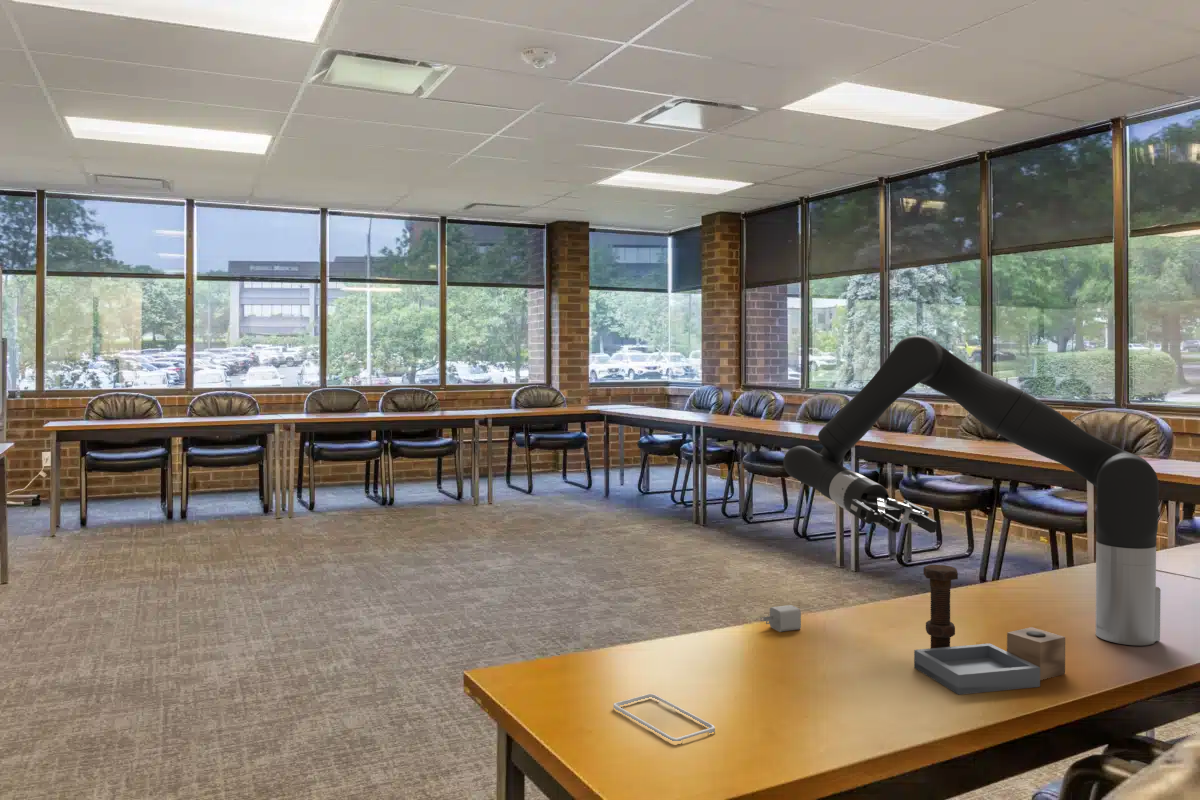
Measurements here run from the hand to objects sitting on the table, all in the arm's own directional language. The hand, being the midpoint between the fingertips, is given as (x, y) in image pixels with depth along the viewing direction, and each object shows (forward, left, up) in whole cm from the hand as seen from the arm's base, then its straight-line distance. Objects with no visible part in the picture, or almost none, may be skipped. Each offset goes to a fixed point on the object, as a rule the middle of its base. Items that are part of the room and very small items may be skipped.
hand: (917, 527), depth 154 cm
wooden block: (-10, +17, -21) cm, 29 cm away
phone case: (+54, +22, -22) cm, 62 cm away
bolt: (0, +6, -21) cm, 22 cm away
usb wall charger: (+20, -14, -21) cm, 32 cm away
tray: (+1, +17, -21) cm, 27 cm away
